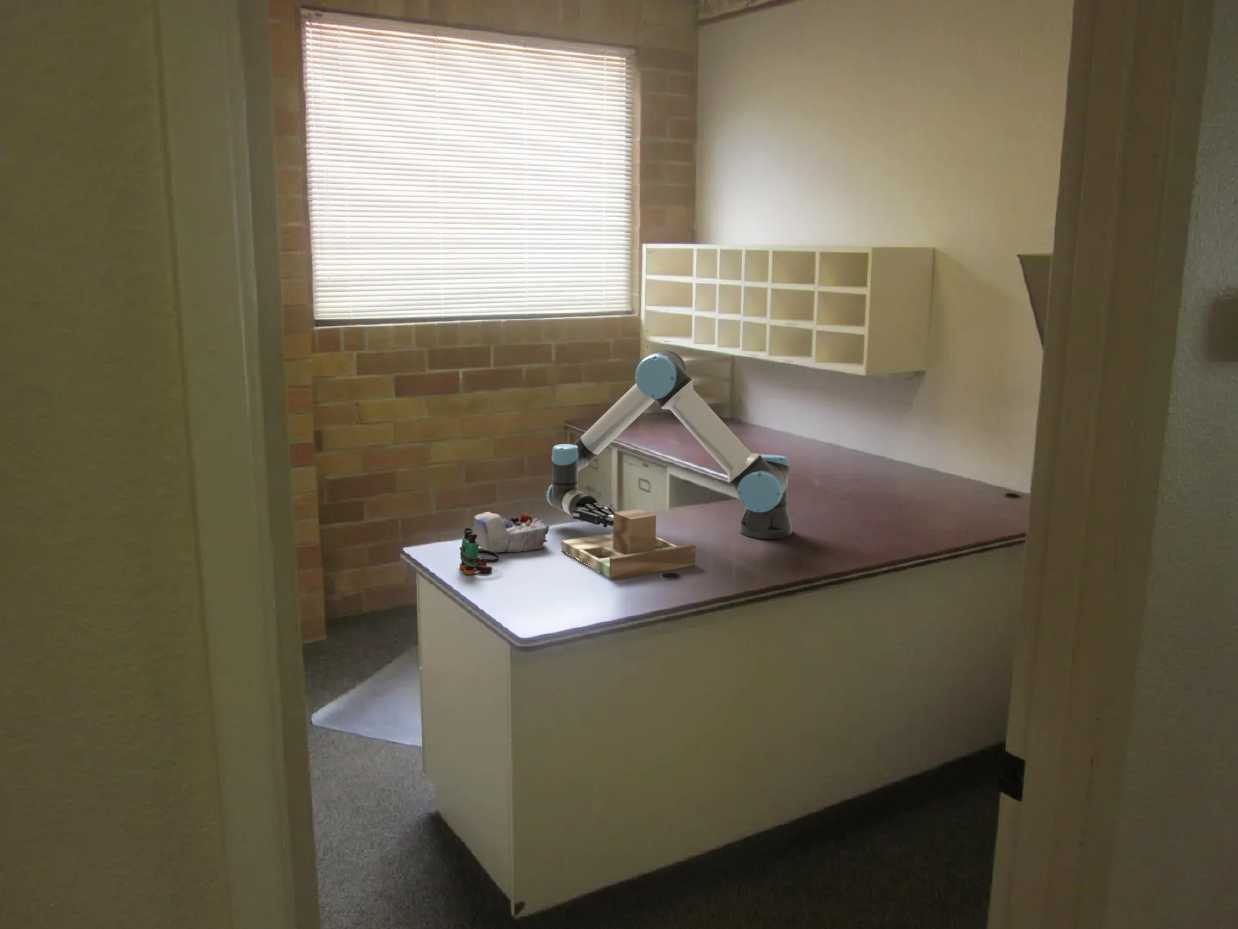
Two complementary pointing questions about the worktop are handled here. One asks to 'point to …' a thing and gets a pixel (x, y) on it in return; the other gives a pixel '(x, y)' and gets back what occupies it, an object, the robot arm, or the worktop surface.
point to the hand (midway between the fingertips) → (622, 525)
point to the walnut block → (634, 531)
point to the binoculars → (474, 555)
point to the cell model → (509, 533)
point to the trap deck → (628, 556)
